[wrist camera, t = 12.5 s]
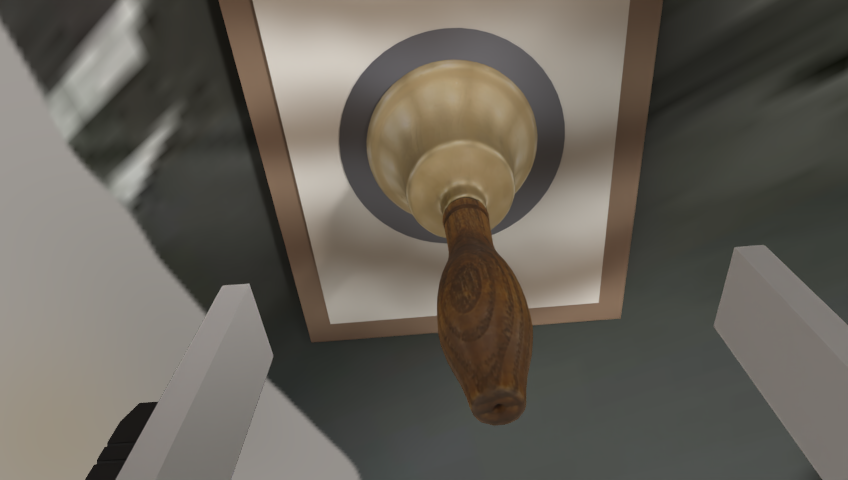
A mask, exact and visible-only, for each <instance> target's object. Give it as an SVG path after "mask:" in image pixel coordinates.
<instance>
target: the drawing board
mask: <svg viewBox="0 0 848 480" xmlns="http://www.w3.org/2000/svg"><path fill="white" fill-rule="evenodd" d="M219 4H220V8H221V11H222V15H223V19H224V22H225V26H226V30H227V34H228V37H229V41H230V45H231V48H232V52H233V56H234V59H235V63H236V67H237V70H238V74H239V78H240V81H241V85H242V89H243V92H244V96H245V100H246V103H247V107H248V111H249V114H250V118H251V122H252V126H253V129H254V133H255V137H256V140H257V144H258V148H259V151H260V155H261V159H262V162H263V166H264V170H265V173H266V177H267V181H268V184H269V188H270V192H271V195H272V199H273V203H274V206H275V210H276V214H277V218H278V221H279V225H280V229H281V232H282V236H283V240H284V243H285V247H286V251H287V254H288V258H289V262H290V265H291V269H292V273H293V276H294V280H295V284H296V287H297V291H298V295H299V298H300V302H301V306H302V310H303V313H304V317H305V321H306V324H307V328H308V332H309V335H310V339H311V343H312V342H325V341H337V340H350V339H363V338H376V337H389V336H401V335H414V334H427V333H438V323H437V296H438V289H439V282H440V279H441V275H442V272H443V270H444V268H445V265H446V263H447V261H448V257H449V251H448V245H447V239H446V238H443V237H440V236H437V235H435V234H433V233H431V232H429V231H428V230H426V229H425V228H424V227H422V226H421V225H420V224H419V223H418V222H417V220H416V219H415V218H414V216H413V215H412V214H410V213H408V212H406V211H404V210H403V209H401V208H400V207H398V206H397V205H396V204H395V203H393V202H392V201H391V200H390V199H389V198H388V197H387V196H386V195H385V194H384V192H383V191H382V190H381V188H380V187H379V185H378V184H377V182H376V180H375V178H374V176H373V174H372V171H371V168H370V165H369V161H368V156H367V133H368V127H369V123H370V120H371V117H372V114H373V112H374V110H375V107H376V105H377V104H378V103H379V101H380V99H381V97H382V96H383V95H384V94H385V92H386V91H387V90H388V89H389V88H390V87H391V86H392V85H393V84H394V83H395V82H396V81H398V80H399V79H400V78H401V77H403V76H404V75H406V74H407V73H409V72H410V71H412V70H414V69H416V68H418V67H420V66H423V65H425V64H429V63H432V62H437V61H442V60H467V61H473V62H478V63H481V64H485V65H487V66H489V67H492V68H494V69H496V70H498V71H499V72H501V73H502V74H504V75H505V76H506V77H508V78H509V79H510V80H511V81H512V82H513V83H514V84H515V85H516V86H517V87H518V88H519V89H520V90H521V91H522V93H523V94H524V96H525V97H526V99H527V101H528V102H529V104H530V106H531V109H532V111H533V114H534V117H535V121H536V126H537V151H536V156H535V159H534V163H533V166H532V168H531V171H530V173H529V174H528V176H527V178H526V180H525V182H524V183H523V185H522V186H521V187H520V189H519V190H518V191H517V192H516V193H515V195H514V199H513V202H512V205H511V207H510V210H509V211H508V213H507V214H506V216H505V217H504V219H503V220H502V221H501V222H500V223H499V224H498V225H497V226H495V227H494V228H493V229H491V235H492V240H493V245H494V248H495V250H496V251H497V253H498V254H499V255H500V256H501V257H502V258H503V259H504V260H505V261H506V262H507V264H508V265H509V267H510V268H511V269H512V271H513V273H514V274H515V276H516V278H517V280H518V282H519V284H520V286H521V288H522V290H523V293H524V295H525V298H526V301H527V304H528V308H529V312H530V315H531V321H532V325H542V324H555V323H567V322H580V321H593V320H606V319H619V318H621V311H622V304H623V296H624V289H625V281H626V274H627V266H628V259H629V252H630V244H631V237H632V229H633V222H634V214H635V207H636V199H637V192H638V184H639V177H640V169H641V162H642V154H643V147H644V139H645V132H646V125H647V117H648V110H649V102H650V95H651V87H652V80H653V72H654V65H655V57H656V50H657V42H658V35H659V27H660V20H661V12H662V5H663V0H219Z"/></svg>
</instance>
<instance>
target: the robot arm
mask: <svg viewBox="0 0 848 480" xmlns="http://www.w3.org/2000/svg"><path fill="white" fill-rule="evenodd" d="M714 327H715V329H716V330H717V332H718V333H719V335H720V336H721V337H722V339H723V340H724V342H725V343H726V344H727V346H728V347H729V349H730V350H731V351H732V353H733V354H734V356H735V357H736V359H737V360H738V361H739V363H740V364H741V366H742V367H743V368H744V370H745V371H746V373H747V374H748V375H749V377H750V378H751V380H752V381H753V382H754V384H755V385H756V387H757V388H758V390H759V391H760V392H761V394H762V395H763V397H764V398H765V399H766V401H767V402H768V404H769V405H770V406H771V408H772V409H773V411H774V412H775V414H776V415H777V416H778V418H779V419H780V421H781V422H782V423H783V425H784V426H785V428H786V429H787V430H788V432H789V433H790V435H791V436H792V438H793V439H794V440H795V442H796V443H797V445H798V446H799V447H800V449H801V450H802V452H803V453H804V454H805V456H806V457H807V459H808V460H809V462H810V463H811V464H812V466H813V467H814V469H815V470H816V471H817V473H818V474H819V476H820V477H821V478H822V480H848V325H847V324H846V323H845V322H844V321H843V320H842V319H841V318H840V317H839V316H838V315H837V314H836V313H835V312H833V311H832V310H831V309H830V308H829V307H828V306H827V305H826V304H825V303H824V302H823V301H822V300H821V299H820V298H819V297H818V296H817V295H816V294H815V293H814V292H813V291H812V290H811V289H810V288H809V287H807V286H806V285H805V284H804V283H803V282H802V281H801V280H800V279H799V278H798V277H797V276H796V275H795V274H794V273H793V272H792V271H791V270H790V269H789V268H788V267H787V266H786V265H785V264H784V263H783V262H781V261H780V260H779V259H778V258H777V257H776V256H775V255H774V254H773V253H772V252H771V251H770V250H769V249H768V248H767V247H766V246H765V245H758V246H744V247H735V248H734V251H733V255H732V259H731V263H730V266H729V270H728V274H727V278H726V281H725V285H724V289H723V293H722V297H721V300H720V304H719V308H718V312H717V315H716V319H715V323H714ZM272 359H273V353H272V350H271V347H270V344H269V341H268V338H267V335H266V332H265V329H264V326H263V323H262V320H261V317H260V314H259V311H258V308H257V305H256V302H255V299H254V296H253V293H252V290H251V287H250V284H238V285H224V286H222V287H221V289H220V291H219V293H218V294H217V296H216V298H215V300H214V302H213V303H212V305H211V307H210V309H209V311H208V313H207V314H206V316H205V318H204V320H203V322H202V324H201V325H200V327H199V329H198V331H197V333H196V334H195V336H194V338H193V340H192V342H191V343H190V345H189V347H188V349H187V351H186V353H185V354H184V356H183V358H182V360H181V362H180V363H179V365H178V367H177V369H176V371H175V373H174V374H173V376H172V378H171V380H170V382H169V384H168V385H167V387H166V389H165V391H164V393H163V394H162V396H161V398H160V400H159V402H148V403H139V404H138V405H137V406H136V407H135V408H134V409H133V410H132V411H131V412H130V413H129V414H128V415H127V416H126V417H125V418H124V419H123V420H122V421H121V422H120V423H119V425H118V426H117V428H116V430H115V431H114V433H113V434H112V436H111V438H110V440H109V441H108V446H107V447H105V448H104V449H103V451H102V453H101V454H100V456H99V458H98V460H97V464H96V465H94V466H93V468H92V469H91V471H90V473H89V474H88V476H87V477H86V479H85V480H231V478H232V475H233V472H234V469H235V466H236V464H237V461H238V458H239V455H240V452H241V449H242V446H243V443H244V440H245V437H246V435H247V432H248V429H249V426H250V422H251V420H252V417H253V414H254V411H255V408H256V406H257V403H258V400H259V397H260V394H261V391H262V388H263V385H264V382H265V379H266V377H267V374H268V371H269V368H270V365H271V362H272Z"/></svg>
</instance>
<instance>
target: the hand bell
mask: <svg viewBox="0 0 848 480" xmlns="http://www.w3.org/2000/svg"><path fill="white" fill-rule="evenodd" d="M536 151H537V126H536V121H535V117H534V114H533V111H532V109H531V106H530V104H529V102H528V101H527V99H526V97H525V96H524V94H523V93H522V91H521V90H520V89H519V88H518V87H517V86H516V85H515V84H514V83H513V82H512V81H511V80H510V79H509V78H508V77H506V76H505V75H504V74H502V73H501V72H499V71H498V70H496V69H494V68H492V67H489V66H487V65H485V64H481V63H478V62H473V61H467V60H442V61H437V62H432V63H429V64H425V65H423V66H420V67H418V68H416V69H414V70H412V71H410V72H409V73H407V74H406V75H404V76H403V77H401V78H400V79H399V80H398V81H396V82H395V83H394V84H393V85H392V86H391V87H390V88H389V89H388V90H387V91H386V92H385V94H384V95H383V96H382V97H381V99H380V101H379V103H378V104H377V105H376V107H375V110H374V112H373V114H372V117H371V120H370V123H369V127H368V133H367V156H368V161H369V165H370V168H371V171H372V174H373V176H374V178H375V180H376V182H377V184H378V185H379V187H380V188H381V190H382V191H383V192H384V194H385V195H386V196H387V197H388V198H389V199H390V200H391V201H392V202H393V203H395V204H396V205H397V206H398V207H400V208H401V209H403V210H404V211H406V212H408V213H410V214H412V215H413V216H414V218H415V219H416V220H417V222H418V223H419V224H420V225H421V226H422V227H424V228H425V229H426V230H428V231H429V232H431V233H433V234H435V235H437V236H440V237H443V238H446V239H447V245H448V251H449V257H448V261H447V263H446V265H445V268H444V270H443V272H442V275H441V279H440V282H439V289H438V296H437V323H438V334H439V339H440V343H441V347H442V349H443V352H444V354H445V357H446V359H447V362H448V364H449V366H450V367H451V369H452V371H453V373H454V375H455V376H456V378H457V380H458V381H459V383H460V385H461V387H462V389H463V391H464V393H465V395H466V397H467V400H468V403H469V406H470V409H471V411H472V413H473V415H474V416H475V417H476V418H477V419H478V420H479V421H481V422H482V423H486V424H490V425H505V424H508V423H511V422H513V421H515V420H517V419H518V418H519V417H520V416H521V414H522V413H523V412H524V410H525V407H526V385H527V376H528V371H529V366H530V361H531V356H532V343H533V327H532V321H531V315H530V312H529V308H528V304H527V301H526V298H525V295H524V293H523V290H522V288H521V286H520V284H519V282H518V280H517V278H516V276H515V274H514V273H513V271H512V269H511V268H510V267H509V265H508V264H507V262H506V261H505V260H504V259H503V258H502V257H501V256H500V255H499V254H498V253H497V251H496V250H495V248H494V245H493V240H492V235H491V229H493V228H494V227H495V226H497V225H498V224H499V223H500V222H501V221H502V220H503V219H504V217H505V216H506V214H507V213H508V211H509V210H510V207H511V205H512V202H513V199H514V195H515V193H516V192H517V191H518V190H519V189H520V187H521V186H522V185H523V183H524V182H525V180H526V178H527V176H528V174H529V173H530V171H531V168H532V166H533V163H534V159H535V156H536Z"/></svg>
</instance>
